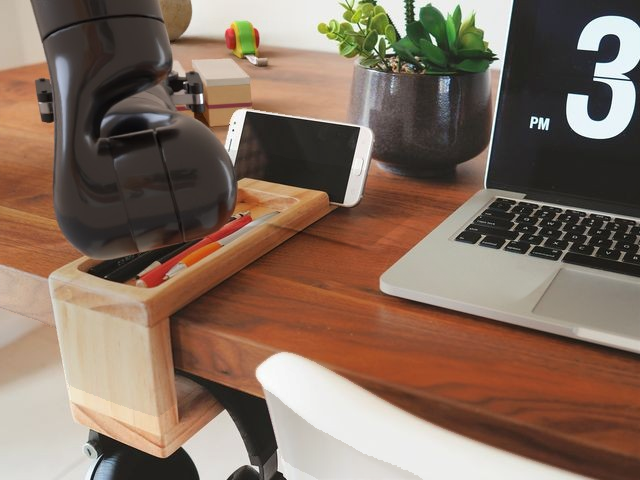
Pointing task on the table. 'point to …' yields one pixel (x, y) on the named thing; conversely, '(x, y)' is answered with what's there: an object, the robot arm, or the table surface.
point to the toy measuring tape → (244, 42)
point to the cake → (219, 89)
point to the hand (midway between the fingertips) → (118, 78)
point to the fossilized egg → (176, 16)
